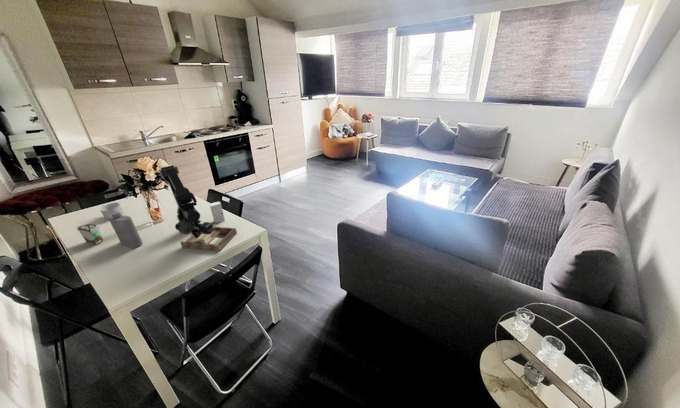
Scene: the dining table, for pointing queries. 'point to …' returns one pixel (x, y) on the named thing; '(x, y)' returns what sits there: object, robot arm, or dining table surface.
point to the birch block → (204, 238)
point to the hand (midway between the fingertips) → (198, 239)
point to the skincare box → (217, 212)
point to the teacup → (110, 209)
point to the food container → (90, 233)
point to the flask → (125, 230)
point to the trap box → (218, 241)
